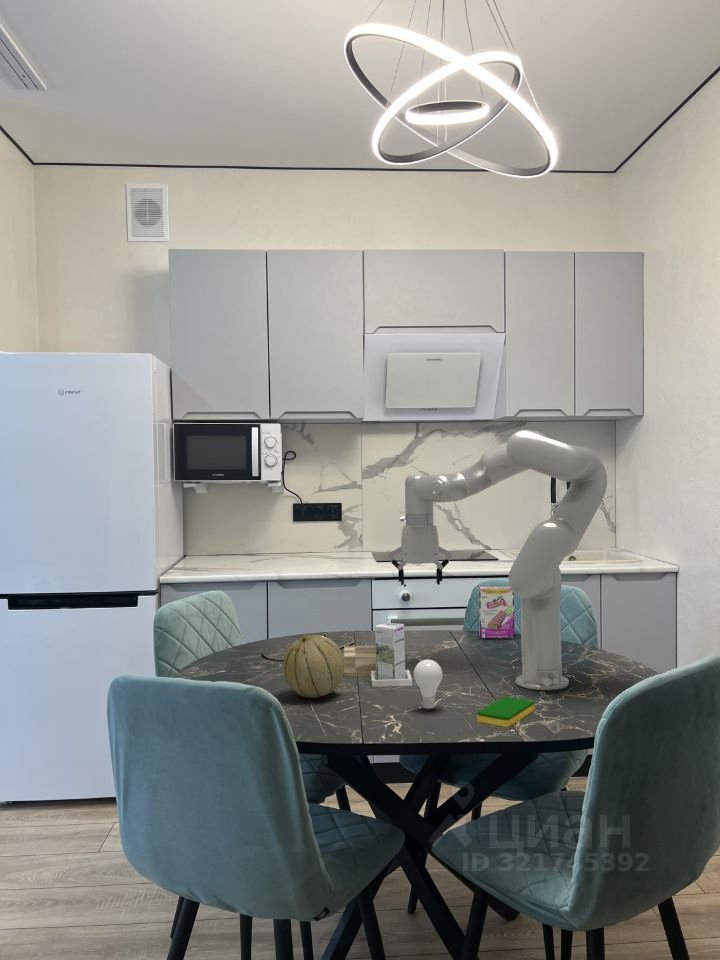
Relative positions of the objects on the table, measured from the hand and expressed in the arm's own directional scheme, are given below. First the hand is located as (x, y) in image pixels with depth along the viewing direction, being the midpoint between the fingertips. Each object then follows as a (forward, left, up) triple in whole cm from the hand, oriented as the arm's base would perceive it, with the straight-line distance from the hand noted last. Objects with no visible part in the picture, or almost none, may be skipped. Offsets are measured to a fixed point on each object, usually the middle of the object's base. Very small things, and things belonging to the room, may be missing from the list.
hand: (420, 584), depth 200 cm
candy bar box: (+39, -28, -24) cm, 53 cm away
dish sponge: (-41, -14, -24) cm, 49 cm away
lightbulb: (-35, +2, -23) cm, 42 cm away
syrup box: (-10, +9, -24) cm, 27 cm away
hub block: (+3, +14, -23) cm, 27 cm away
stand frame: (-10, +9, -23) cm, 27 cm away
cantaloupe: (-22, +28, -23) cm, 43 cm away
